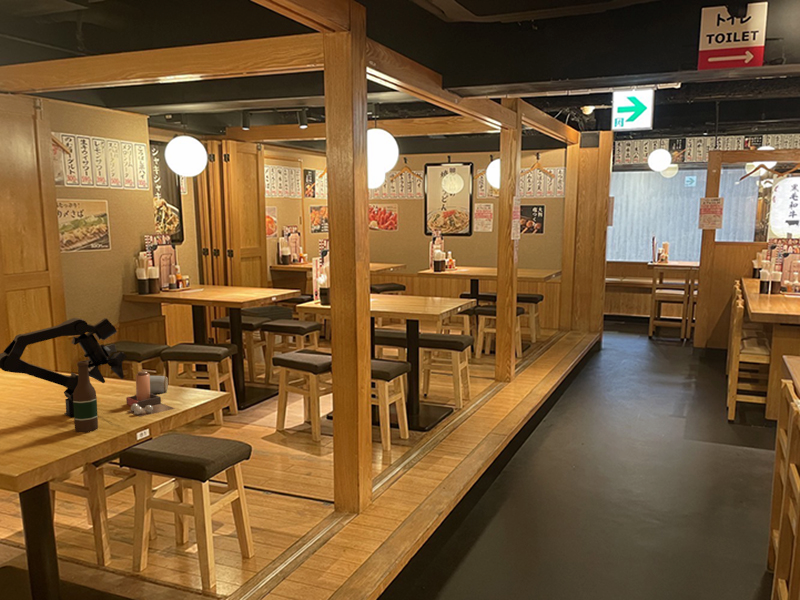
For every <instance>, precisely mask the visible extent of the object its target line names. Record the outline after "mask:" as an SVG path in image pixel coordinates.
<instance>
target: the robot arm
mask: <svg viewBox="0 0 800 600" xmlns="http://www.w3.org/2000/svg"><path fill="white" fill-rule="evenodd" d="M116 333H118V331H117V329H116V327H115V326H114V325H113V323H112V322H110V320H109V319H108V318H105V317H104V318H102V320H100V321H99V322H97V323H95V324H94V325H93V324H90V323H89V324H88V322H87V321H86V320H85V319H81V318H79V317H73V318H70V319H68V320H65V321H62V323H60V324H58V325H54V326H50V327H47V328H42V329H38V330H34V331H30V332H27V333H26V332H25V333H20V334H16V336H15V337H14V338H13V340H12V341H10V343H9V344H8V345H7V346H6V347H5V349H4V350H3V351H2V352H1V353H0V369H1V371H3V372H6V373H7V372H8V373H13V374H24V375H28V376H31V377H34V378H38V379H40V380H44V381H46V382H50V383H52V384H53V383H54V384H55V385H56V384H57V385H59V386H62V387H64V388H66V389H65V391H63V394H64V397H65V412H64V415H65V416H67V417H69V418H71V419H73V418H74V407H73V393H74V390H75V388H76V386H77V385H78V374H76V373H74V372H71V373H70V375H67V374H63V373H59V372H57V371H54V370H50V369H47V368H45V367H42V366H39V365H36V364H33V363H29V362H27V361H25V360H23V359H21V358H22V356H23V354H24V352H25V350H26V348H27V346H30V345H34V344H38V343H41V342H45V341H49V340H52V339H55V338H56V339H57V338H60V337H72V340H71V344H72V345H74V346H75V345H77V344H79V345H80V347H81V348H82V350H83V351H84V355H83V357H84V358H88V359H85V360H84V361H88V363H89V365H88V370H89V378H90V377H91V378H92V379H94V380H95V381H97V382H98V381H99V383H102V384H104V383H106V380H105V378H104V376H103V374H102V373H101V371H100V369H99V366H103V365H108V366H109V367H110V370H111V371H112V372H114V374H116V376H118V377H119V378H120V379H121V380H123V379H124V378H125V374H124V370H123V362H124V361H125V359H126V358H127V355H126V354H125V352H123V351H119V352H118V350H117V347H116V344H115V343H111V344H107V345H104V344H103V343H102V344H100V343H99V341H104V342H105V340H107V339H108V338H110V337H111V336H113V335H115V334H116ZM112 353H113V354H112Z"/></svg>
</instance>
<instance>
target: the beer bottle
mask: <svg viewBox="0 0 800 600" xmlns="http://www.w3.org/2000/svg"><path fill="white" fill-rule="evenodd" d="M88 365H89V363H88V361H85V360H80V361H77V365H76V366H77V367H78V368H77V372H78V374H77V375H78V385H77V386H76V388H75V390H74V393H73V407H74V417H73V420H74V421H73V422H74V431H75V433H79V432H86V433H91V432H90V431H92V432H95V431H97V430H98V428H99V420H98V399H97V398H98V397H97V392H96V389H95V387H94V386H93V385H92V382H91V381H90V379H91V378H90V376H89V370H88ZM96 429H97V430H96Z"/></svg>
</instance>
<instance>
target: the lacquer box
mask: <svg viewBox="0 0 800 600" xmlns="http://www.w3.org/2000/svg"><path fill="white" fill-rule="evenodd" d="M161 398H162V397H161V396H159V395H155V394H151V393H150V399H147V400H142V401H137V397H136V395H132V396H127V397H125V399H126V405H127V406H129V407H131V406H132V404H138V405H139V407H142V408H144V407H146V406H147V405H151V406H153V405H157V404H161V403H162V400H161Z"/></svg>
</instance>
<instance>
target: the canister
mask: <svg viewBox="0 0 800 600" xmlns="http://www.w3.org/2000/svg"><path fill="white" fill-rule="evenodd" d="M150 376H151V374H150V373H149V372H148V371H147V370H141V371H137V373H136V374H135V390H136V391H135V392H136V394H135V396H136V397H137V401H142V400H147V399H150Z"/></svg>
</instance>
